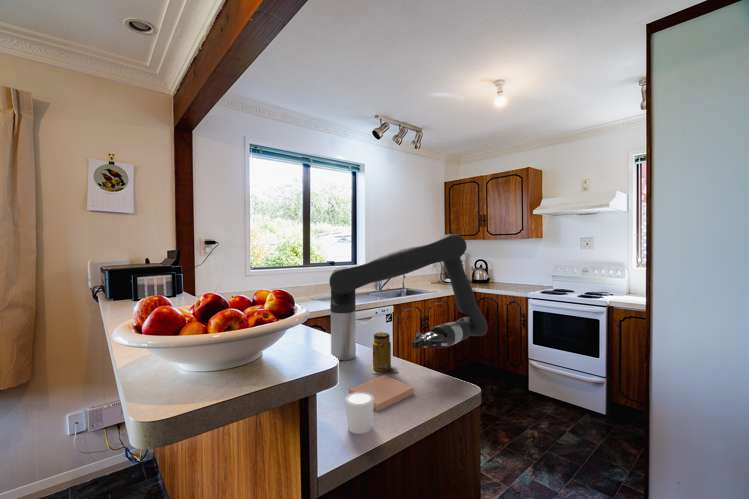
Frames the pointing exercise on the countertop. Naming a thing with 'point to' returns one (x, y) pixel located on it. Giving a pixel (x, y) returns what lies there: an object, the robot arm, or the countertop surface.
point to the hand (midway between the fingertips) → (413, 345)
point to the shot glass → (359, 412)
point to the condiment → (382, 354)
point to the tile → (384, 391)
